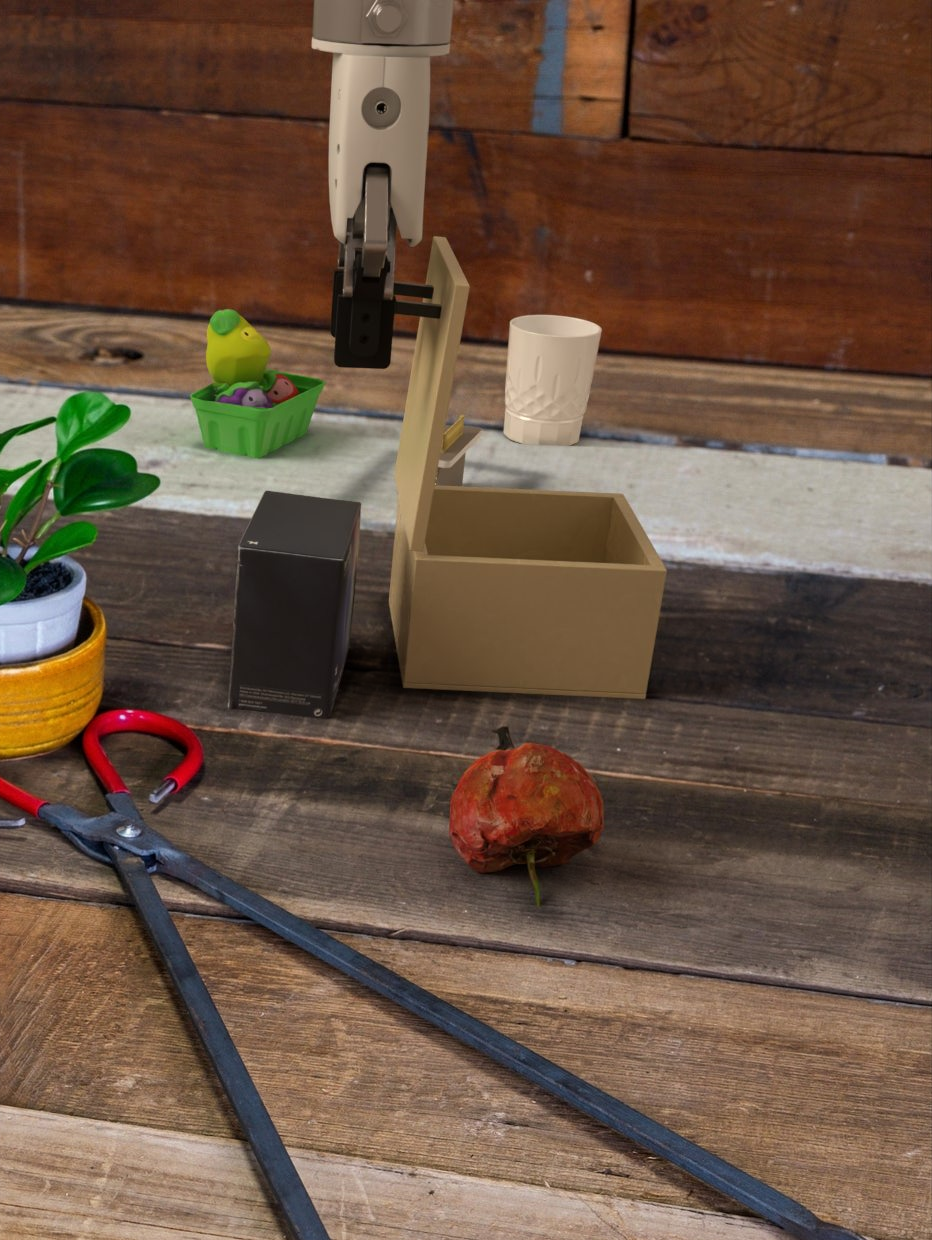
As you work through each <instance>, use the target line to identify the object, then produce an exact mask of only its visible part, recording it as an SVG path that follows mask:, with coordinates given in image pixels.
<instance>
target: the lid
mask: <svg viewBox="0 0 932 1240" xmlns="http://www.w3.org/2000/svg"><path fill="white" fill-rule="evenodd" d="M461 267H462V266H460V263H459V261H458V259H457V257H456V255H455V253H454V251H453V249H452V248H451V245H450V243H449V241H448V239H447V237H446V236H435V235H434V236H433V237H432V243H431V249H430V255H429V261H428V266H427V273H426V279H425V283H416V282H406V281H399V280H394V284H393V297H395V298H396V296H401V297H410V298H418V299H422V301H413V300H406V299H405V300H404V299H397V298H396V299H395V312H394V316H395V315H402V316H409V317H419V321H418V328H417V333H416V340H415V345H414V346H415V347H414V351H413V358H412V363H411V364H412V366H411V371H410V375H409V376H410V377H409V383H408V389H407V395H406V402H405V408H404V413H403V420H402V426H401V431H400V437H399V444H398V450H397V454H396V460H395V461H396V463H395V468H394V474H393V476H394V481H395V482H394V483H395V486H396V491H397V495H398V496H399V501H400V506H401V510H402V515H403V520H404V525H405V529H406V534H407V539H408V544H409V549H410V550H411V551H420V552H423V549H424V543H425V538H426V532H427V526H428V521H429V515H430V509H431V504H432V498H433V492H434V487H435V485H436V483H435V481H436V475H437V470H438V464H439V458H440V453H441V447H442V441H443V436H444V430H445V426H446V424H447V419H448V412H449V407H450V401H451V395H452V391H453V385H454V378H455V372H456V367H457V361H458V355H459V350H460V345H461V339H462V334H463V327H464V322H465V321H464V320H465V317H466V311H467V304H468V301H469V300H468V299H469V293H470V288H471V286H470V283H469V282H468V280H467V278H466V276H465V274H464V272H463V270H462V268H461ZM398 496H397V497H398Z"/></svg>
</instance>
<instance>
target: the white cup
mask: <svg viewBox="0 0 932 1240" xmlns="http://www.w3.org/2000/svg"><path fill="white" fill-rule="evenodd" d="M602 332H603V329H602V327H601V326H600V325H599V324H596V323H595V322H592V321H589V320H586V319H582V318H577V317H572V316H565V315H555V314H528V315H521V316H517V317H513V318H512V319H511V320H510V321H509V329H508V341H507V342H508V344H507V357H506V367H505V369H506V370H505V385H504V404H505V407H504V421H503V422H504V423H503V435H504V436H505V437H506V438H507V439H509V440H511V441H513V442H515V443H518V444H521V445H533V446H535V445H537V446H557V447H558V446H559V447H560V446H561V447H570V446H573V445H575V444H577V443H579V441H580V437H581V431H582V424H583V419H584V418H585V413H586V411H587V407H588V401H589V398H590V393H591V388H592V383H593V379H594V375H595V367H596V364H597V363H596V362H597V357H598V352H599V347H600V342H601V337H602Z"/></svg>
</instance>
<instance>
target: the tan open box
mask: <svg viewBox="0 0 932 1240" xmlns="http://www.w3.org/2000/svg"><path fill="white" fill-rule="evenodd" d="M396 507H397V508H396V518H395V528H394V538H393V539H394V540H393V550H392V562H391V573H390V583H389V593H388V594H389V595H388V607H389V612H390V616H391V623H392V630H393V636H394V641H395V648H396V654H397V659H398V665H399V672H400V679H401V685H402V688H404V689H420V690H421V689H422V690H423V689H425V690H442V691H443V690H446V691H464V692H465V691H466V692H467V691H468V692H485V693H486V692H490V693H510V694H531V695H553V696H571V697H572V696H573V697H576V696H577V697H597V698H617V699H641V700H645V699H647V698H646V697H647V691H648V684H649V680H650V673H651V668H652V662H653V657H654V656H653V655H654V650H655V644H656V639H657V631H658V626H659V621H660V614H661V608H662V603H663V597H664V590H665V585H666V579H667V574H668V573H667V571H668V570H667V568H666V566H665V564H664V562H663V560H662V559H661V557H660V556H659V554H658V552H657V550H656V548H655V547H654V545H653V543H652V542H651V540H650V537H649V536H648V534H647V533H646V531H645V530H644V529H645V528H644V527H643V526H642V524H641V522H640V520H639V519H638V517H637V515H636V513H635V512H634V509H633V508H632V506H631V504H630V503H629V501H628V499H627V498H626V496H625V495H624V493H616V492H615V493H614V492H613V493H612V492H592V491H572V490H571V491H570V490H551V489H549V490H547V489H526V488H504V487H484V486H483V487H480V486H462V485H461V486H440V485H436V484H435V487H434V492H433V498H432V504H431V509H430V515H429V521H428V526H427V532H426V538H425V543H424V549H423V552H420V551H411V550H410V549H409V544H408V539H407V534H406V529H405V525H404V520H403V515H402V510H401V506H400V501H399V496H397V505H396Z"/></svg>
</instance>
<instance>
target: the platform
mask: <svg viewBox="0 0 932 1240" xmlns="http://www.w3.org/2000/svg"><path fill="white" fill-rule="evenodd" d="M465 416H466V414H460V415H459V418H458V419H457V420H456V421H455V422H454V423H453V424H452V425H445V430H444V436H443V441H442V447H441V453H440V458H439V464H438V470H437V475H436V481H435V485H440V486H462V485H463V482H464V473H465V463H466V456H467V455H466V454H467V451H468V450H470V448H471V447H472V446H473V445H475V444H476V442H477V441H478V440H479V439H480V438H481V437H482V436H483V428H482V427H480V426H474V425H468V424H464V423H465Z"/></svg>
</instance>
